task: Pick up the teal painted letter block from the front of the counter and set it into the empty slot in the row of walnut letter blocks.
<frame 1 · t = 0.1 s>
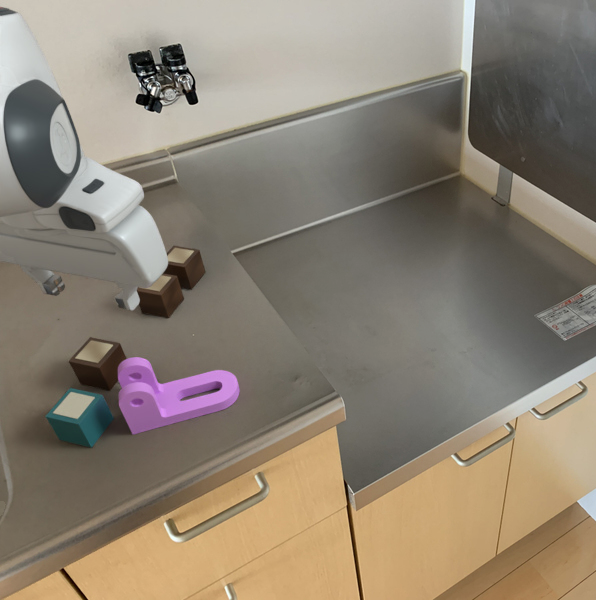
hand: (92, 298, 67), 16 cm above the countertop, tool pointing down, fingers open, 8 cm apart
block c: (163, 305, 89), on the countertop
block a: (105, 375, 79), on the countertop
apple: (125, 253, 99), on the countertop
letter block: (87, 428, 73), on the countertop
bracket: (187, 403, 76), on the countertop
block d: (185, 278, 94), on the countertop
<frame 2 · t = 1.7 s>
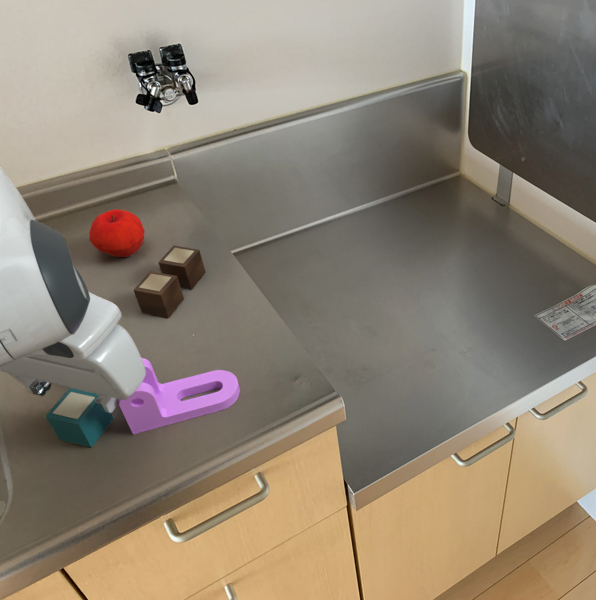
hand: (75, 398, 70), 5 cm above the countertop, tool pointing down, fingers open, 8 cm apart
bracket: (187, 403, 76), on the countertop, touching gripper
everything else where it was.
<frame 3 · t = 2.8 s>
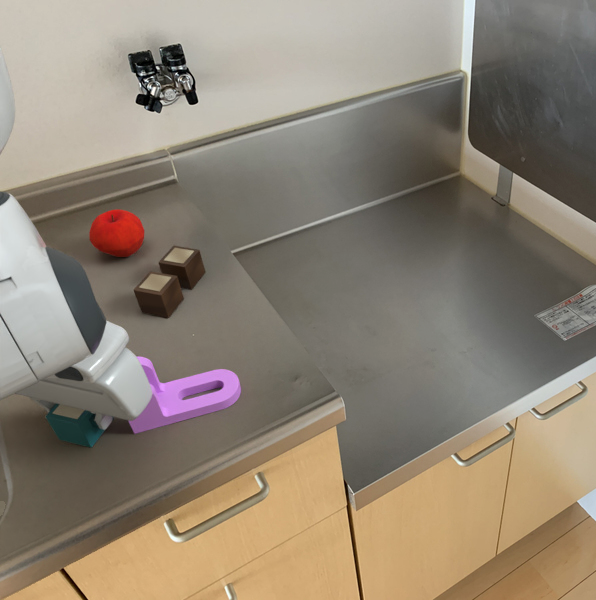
hand: (82, 419, 72), 2 cm above the countertop, tool pointing down, fingers closed on letter block, 4 cm apart
letter block: (87, 429, 73), on the countertop, touching gripper
bracket: (188, 402, 76), on the countertop
everything else where it was.
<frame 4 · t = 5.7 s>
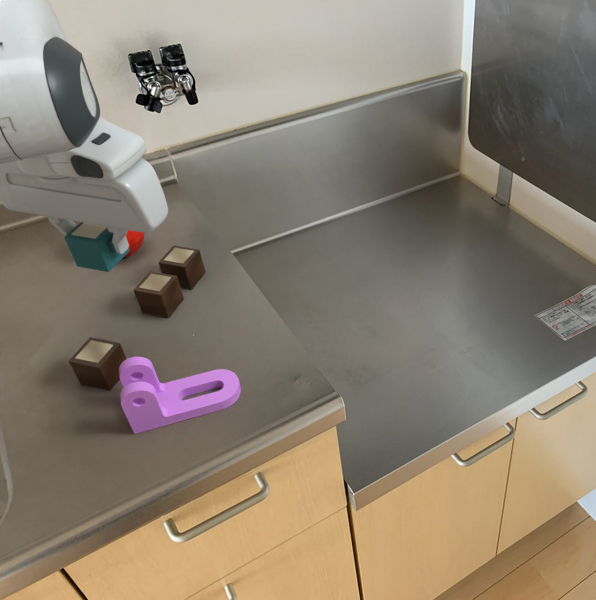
hand: (99, 246, 74), 16 cm above the countertop, tool pointing down, fingers closed on letter block, 4 cm apart
letter block: (103, 258, 75), point 14 cm above the countertop, touching gripper
everything else where it was.
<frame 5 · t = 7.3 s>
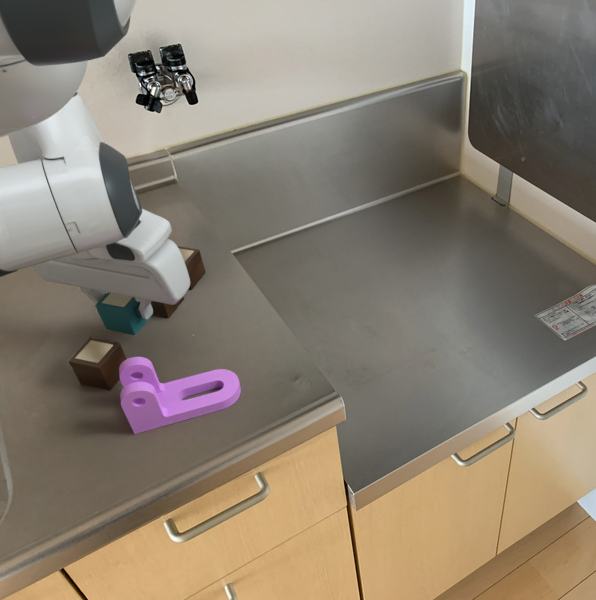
hand: (126, 312, 81), 5 cm above the countertop, tool pointing down, fingers closed on letter block, 4 cm apart
letter block: (130, 321, 82), point 3 cm above the countertop, touching gripper
everything else where it was.
when the fingers open (2 cm above the countertop, at t = 8.6 s): letter block stays where it is, on the countertop.
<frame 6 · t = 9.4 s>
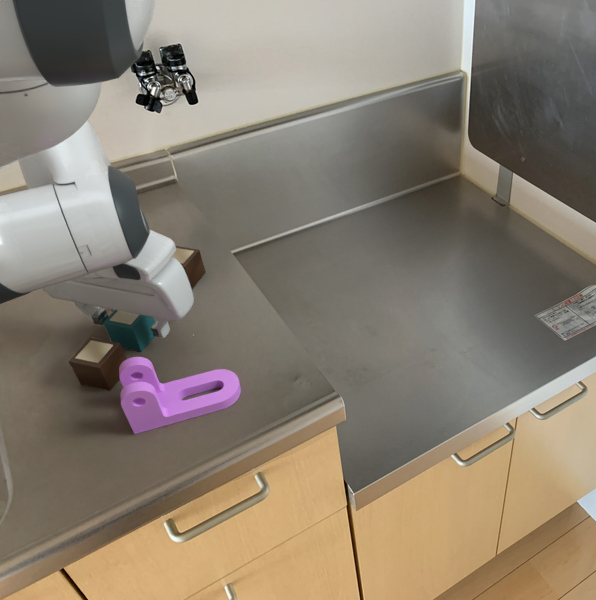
hand: (131, 327, 83), 2 cm above the countertop, tool pointing down, fingers open, 8 cm apart
letter block: (136, 338, 84), on the countertop
everything else where it was.
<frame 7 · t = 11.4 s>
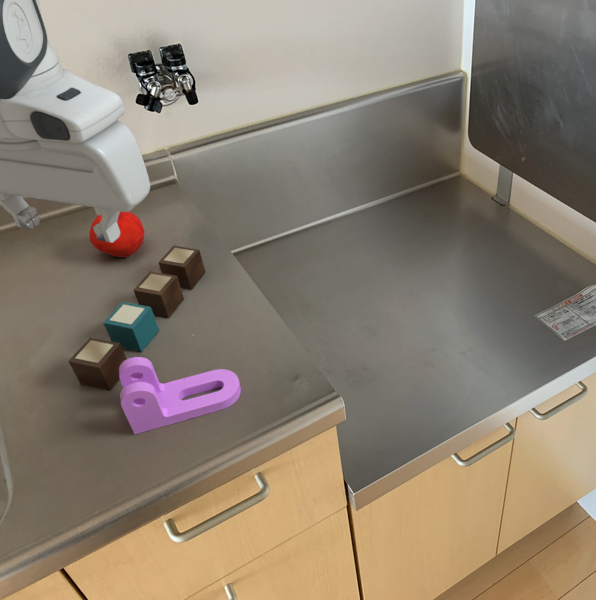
hand: (69, 232, 63), 24 cm above the countertop, tool pointing down, fingers open, 8 cm apart
nothing on the countertop moved.
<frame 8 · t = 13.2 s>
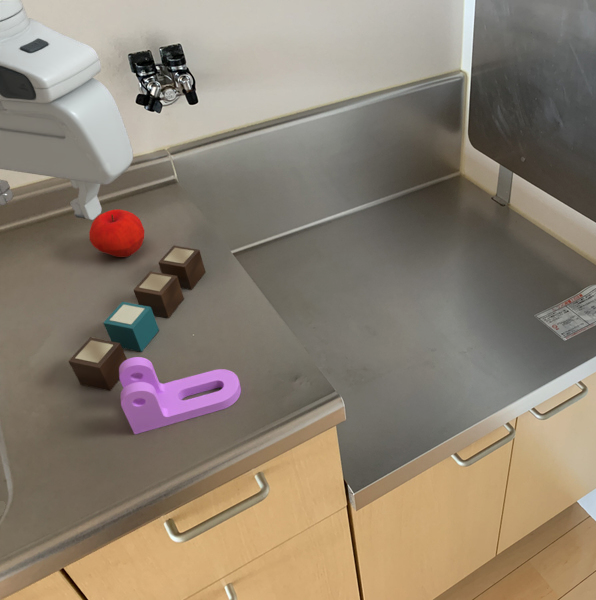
hand: (45, 208, 56), 29 cm above the countertop, tool pointing down, fingers open, 8 cm apart
nothing on the countertop moved.
at the end: letter block 0.1 cm from the target spot on the countertop beside the block d, on the countertop; letter block tilted 0°; the gripper is holding nothing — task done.
